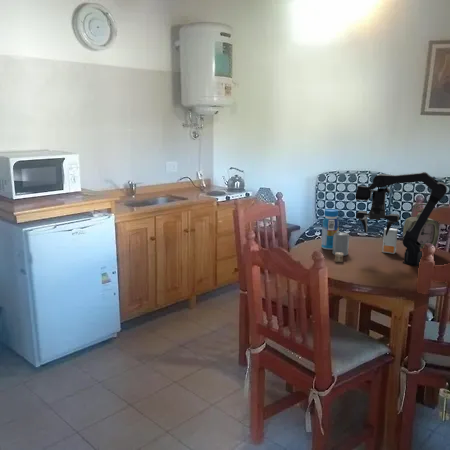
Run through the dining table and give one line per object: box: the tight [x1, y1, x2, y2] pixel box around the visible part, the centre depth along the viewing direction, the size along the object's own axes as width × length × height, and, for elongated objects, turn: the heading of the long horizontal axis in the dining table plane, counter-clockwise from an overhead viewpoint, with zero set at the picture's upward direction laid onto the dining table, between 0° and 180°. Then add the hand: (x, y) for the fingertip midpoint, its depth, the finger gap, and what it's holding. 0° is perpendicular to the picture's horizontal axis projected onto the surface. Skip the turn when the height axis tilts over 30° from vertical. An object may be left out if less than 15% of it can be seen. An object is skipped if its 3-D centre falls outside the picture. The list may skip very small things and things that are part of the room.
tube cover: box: [332, 231, 350, 257], centre depth 228 cm, size 7×7×10 cm
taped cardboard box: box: [334, 252, 344, 263], centre depth 216 cm, size 4×4×4 cm
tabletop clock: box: [402, 203, 440, 250], centre depth 229 cm, size 14×9×25 cm, turn 92°
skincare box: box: [381, 227, 399, 255], centre depth 231 cm, size 6×4×12 cm
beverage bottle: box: [321, 208, 340, 251], centre depth 237 cm, size 8×8×20 cm
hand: (376, 234), depth 218 cm, fingers open, 9 cm apart
